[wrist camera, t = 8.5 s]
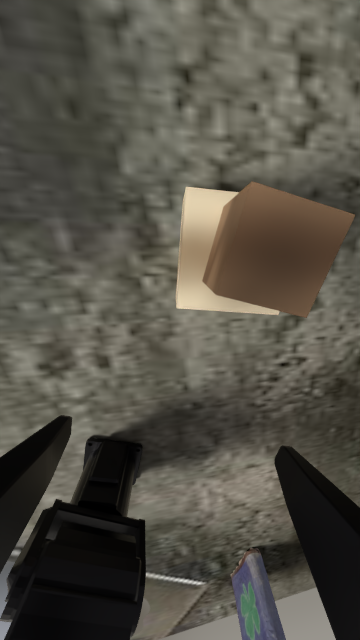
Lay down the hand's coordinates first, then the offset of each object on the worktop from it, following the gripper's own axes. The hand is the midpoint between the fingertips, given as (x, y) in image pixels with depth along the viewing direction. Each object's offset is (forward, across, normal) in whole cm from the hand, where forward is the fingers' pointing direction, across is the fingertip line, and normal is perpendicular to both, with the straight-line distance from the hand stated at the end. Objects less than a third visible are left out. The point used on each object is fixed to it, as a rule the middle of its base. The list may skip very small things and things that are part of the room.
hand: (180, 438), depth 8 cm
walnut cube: (+8, -3, -8) cm, 12 cm away
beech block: (+12, -3, -8) cm, 15 cm away
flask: (+12, -20, +38) cm, 45 cm away
